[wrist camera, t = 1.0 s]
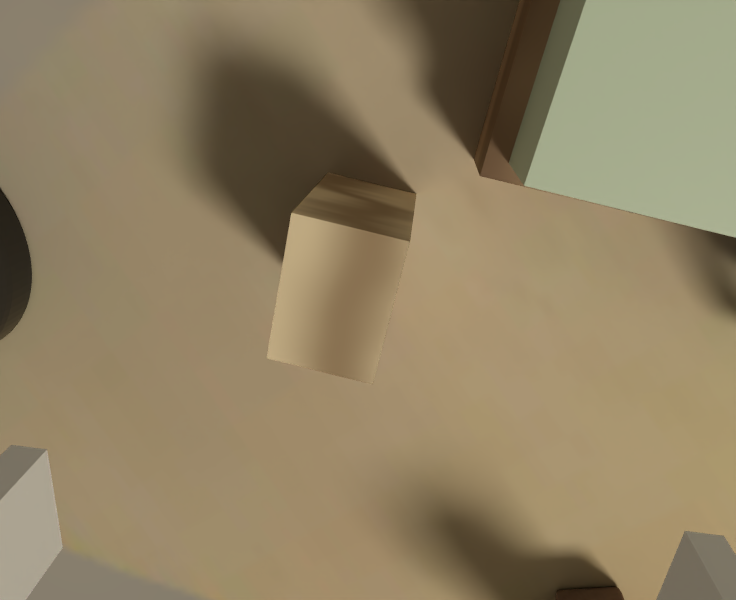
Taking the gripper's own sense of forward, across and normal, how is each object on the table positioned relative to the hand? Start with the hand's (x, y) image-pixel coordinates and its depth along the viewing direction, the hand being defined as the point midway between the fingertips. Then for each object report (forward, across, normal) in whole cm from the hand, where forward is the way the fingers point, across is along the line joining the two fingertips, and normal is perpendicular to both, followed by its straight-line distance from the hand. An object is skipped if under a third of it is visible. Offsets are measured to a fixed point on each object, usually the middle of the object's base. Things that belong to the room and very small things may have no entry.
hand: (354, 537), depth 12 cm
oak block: (+23, -2, -1) cm, 23 cm away
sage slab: (+18, +10, +10) cm, 23 cm away
